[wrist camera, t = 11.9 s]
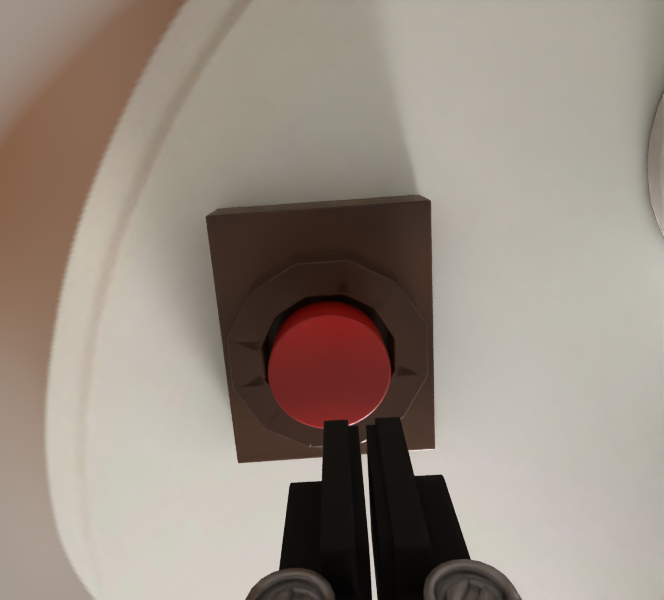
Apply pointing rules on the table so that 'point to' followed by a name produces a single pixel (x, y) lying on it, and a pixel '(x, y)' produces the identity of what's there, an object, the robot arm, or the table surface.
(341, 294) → the button block
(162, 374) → the table surface
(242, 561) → the table surface
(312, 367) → the button
